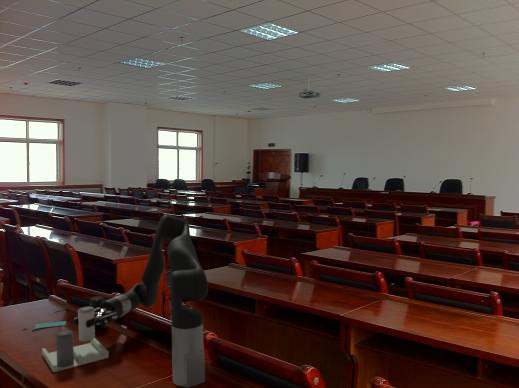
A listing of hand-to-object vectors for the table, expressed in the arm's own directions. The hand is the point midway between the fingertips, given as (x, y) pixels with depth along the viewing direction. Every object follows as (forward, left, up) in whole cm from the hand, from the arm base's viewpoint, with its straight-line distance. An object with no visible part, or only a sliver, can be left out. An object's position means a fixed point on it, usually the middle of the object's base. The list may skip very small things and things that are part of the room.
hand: (80, 323), depth 150 cm
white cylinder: (+1, -2, -6) cm, 7 cm away
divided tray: (+1, +2, -12) cm, 12 cm away
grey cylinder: (-3, +6, -11) cm, 13 cm away
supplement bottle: (+25, -13, -12) cm, 31 cm away
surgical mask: (+39, +1, -13) cm, 41 cm away
